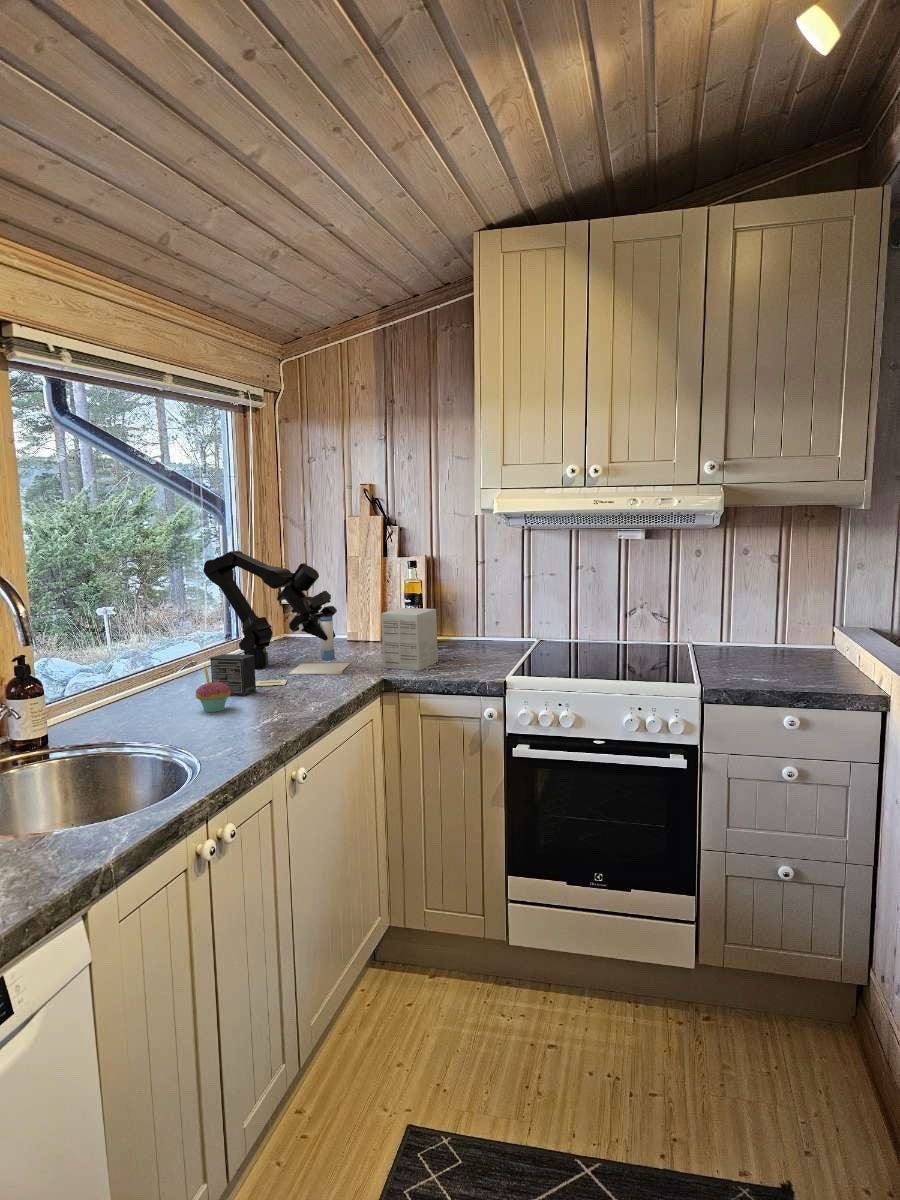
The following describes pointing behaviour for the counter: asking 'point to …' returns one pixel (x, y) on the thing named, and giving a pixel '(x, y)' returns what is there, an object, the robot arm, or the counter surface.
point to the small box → (234, 672)
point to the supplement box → (409, 638)
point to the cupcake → (213, 694)
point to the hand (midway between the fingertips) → (330, 638)
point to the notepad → (320, 668)
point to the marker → (327, 645)
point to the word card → (271, 682)
